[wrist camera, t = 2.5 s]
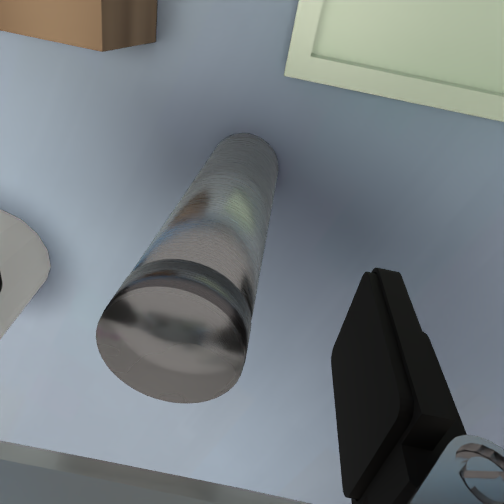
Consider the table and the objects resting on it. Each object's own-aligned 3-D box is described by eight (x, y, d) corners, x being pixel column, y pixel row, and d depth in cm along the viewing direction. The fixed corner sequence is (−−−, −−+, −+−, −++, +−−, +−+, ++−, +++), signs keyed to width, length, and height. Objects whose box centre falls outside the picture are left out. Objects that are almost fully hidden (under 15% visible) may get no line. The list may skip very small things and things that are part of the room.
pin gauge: (285, 141, 18) (257, 311, 8) (271, 205, 19) (232, 416, 9) (215, 126, 18) (92, 275, 8) (207, 192, 20) (97, 386, 9)
